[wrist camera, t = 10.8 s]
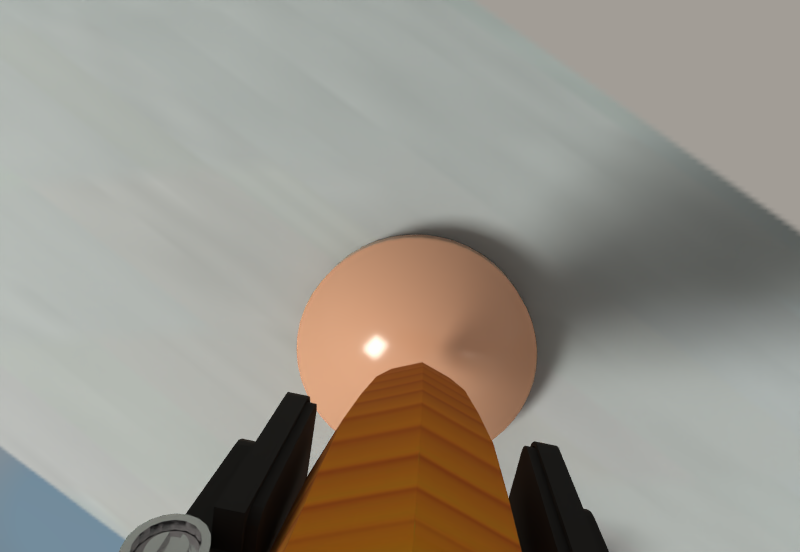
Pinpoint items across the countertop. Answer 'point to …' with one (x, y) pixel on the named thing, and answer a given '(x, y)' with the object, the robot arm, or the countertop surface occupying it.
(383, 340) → the peach glossy dome
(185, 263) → the countertop surface
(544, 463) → the robot arm
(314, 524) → the carrot
